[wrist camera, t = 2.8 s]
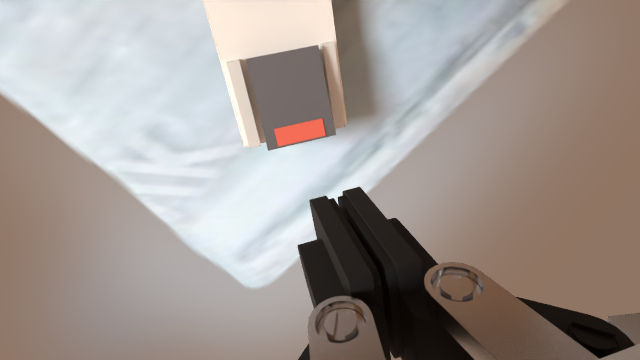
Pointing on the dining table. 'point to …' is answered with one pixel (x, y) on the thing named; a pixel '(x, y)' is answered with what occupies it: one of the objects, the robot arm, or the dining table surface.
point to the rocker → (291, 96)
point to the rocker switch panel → (272, 49)
